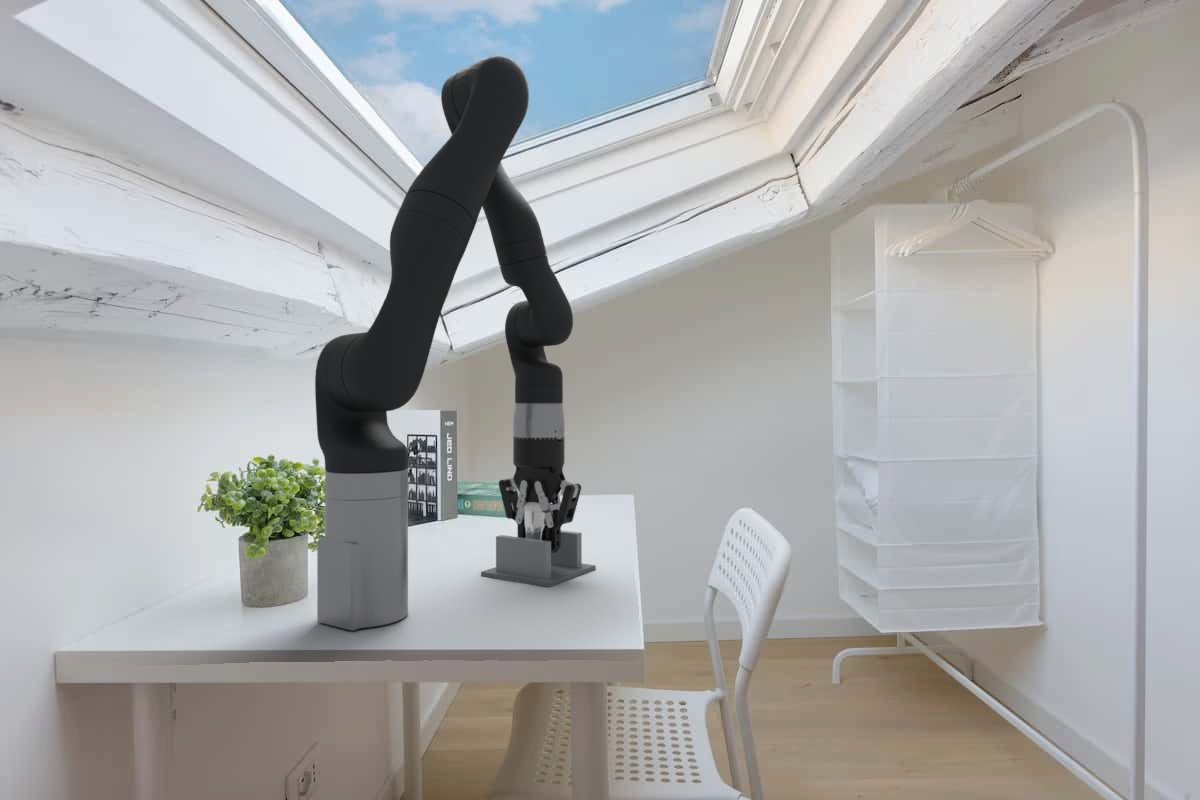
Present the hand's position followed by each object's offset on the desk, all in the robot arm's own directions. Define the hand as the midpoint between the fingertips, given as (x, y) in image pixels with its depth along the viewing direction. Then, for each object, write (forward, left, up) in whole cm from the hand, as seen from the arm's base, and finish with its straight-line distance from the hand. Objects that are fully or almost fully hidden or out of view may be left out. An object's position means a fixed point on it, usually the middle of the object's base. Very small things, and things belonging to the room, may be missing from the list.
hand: (539, 550), depth 105 cm
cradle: (0, 0, -3) cm, 3 cm away
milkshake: (0, 0, -2) cm, 2 cm away
